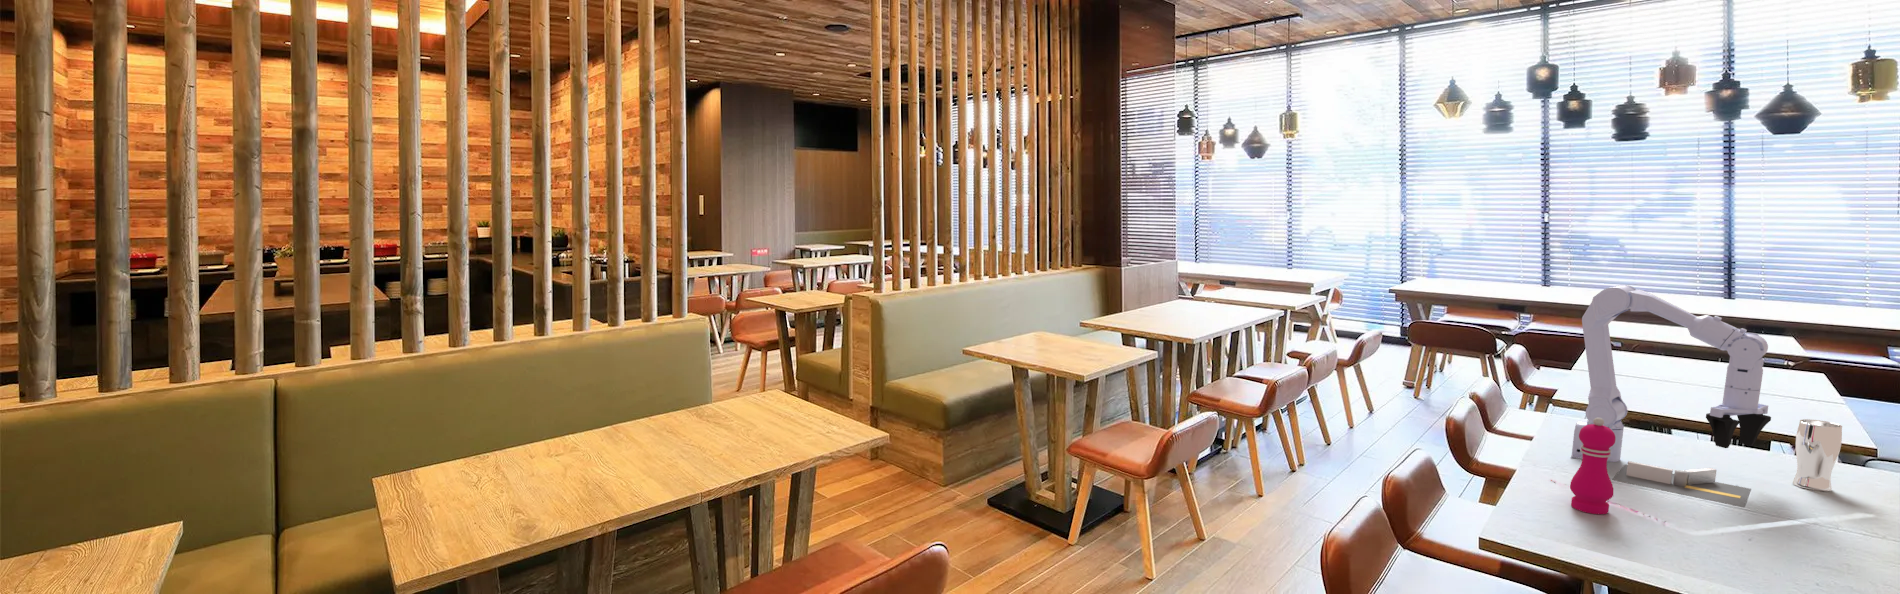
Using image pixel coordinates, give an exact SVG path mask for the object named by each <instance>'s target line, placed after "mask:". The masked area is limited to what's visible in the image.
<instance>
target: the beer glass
mask: <svg viewBox="0 0 1900 594" xmlns="http://www.w3.org/2000/svg"><path fill="white" fill-rule="evenodd" d="M1796 431H1797V432H1796V436H1795V453H1796V454H1795V455H1796V463H1797V464H1796V465H1797V466H1796V467H1797V469H1796V473H1795V475H1794V478H1793V480H1792V485H1794V486H1795V487H1799V488H1802V489H1805V490H1809V491H1814V492H1831V491H1832V490H1833V489H1832V488H1833V487H1832V480H1831V479H1832V478H1831V477H1832V473H1833V469H1834V467H1835V464H1836V461H1837V460H1838V457H1839V455H1840V451H1841V447H1842V439H1843V438H1842V435H1843V425H1841V424H1839V423H1835V422H1831V421H1825V420H1819V419H1808V418H1807V419H1805V418H1804V419H1800V420H1799V423H1798V427H1797V430H1796Z"/></svg>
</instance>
